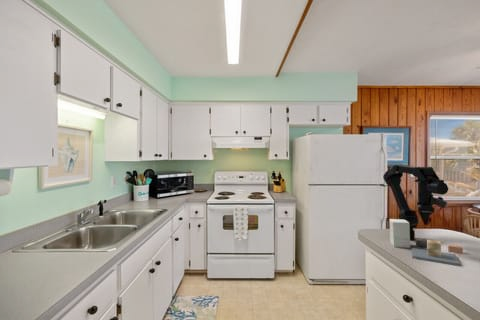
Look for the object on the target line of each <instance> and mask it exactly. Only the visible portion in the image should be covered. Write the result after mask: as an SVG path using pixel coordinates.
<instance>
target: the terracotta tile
mask: <svg viewBox="0 0 480 320" xmlns="http://www.w3.org/2000/svg"><path fill="white" fill-rule="evenodd" d="M447 251H448V252H447V253H452V252H453V253H452V254H460V255H463V254H464V248H463V246H462V245H457V244H449V243H448V244H447Z"/></svg>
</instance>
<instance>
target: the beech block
mask: <svg viewBox="0 0 480 320" xmlns="http://www.w3.org/2000/svg"><path fill="white" fill-rule="evenodd" d="M426 240H427V248H426V250H427V253H428V256H433V257H440V258H441V252H442V243H441V241H440V240H436V239H435V240H434V239H426Z"/></svg>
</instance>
